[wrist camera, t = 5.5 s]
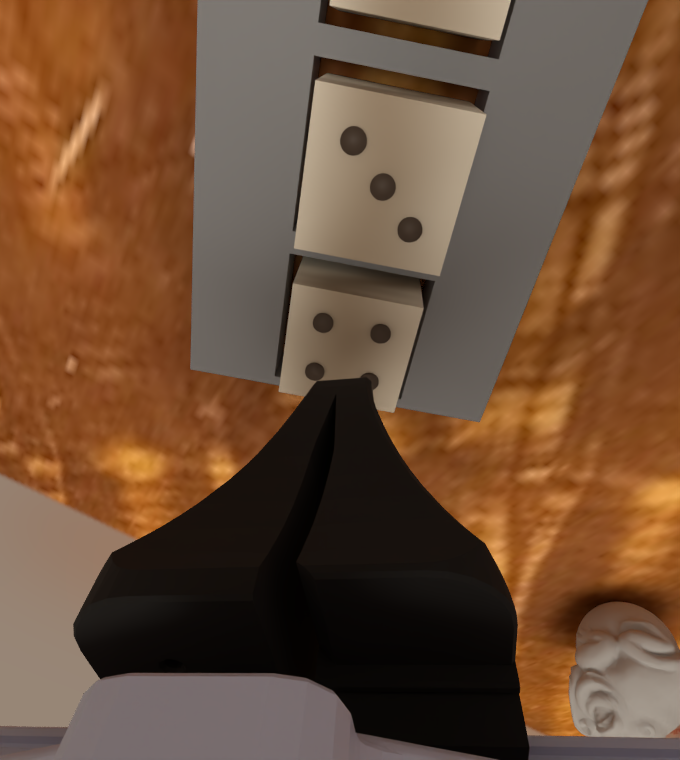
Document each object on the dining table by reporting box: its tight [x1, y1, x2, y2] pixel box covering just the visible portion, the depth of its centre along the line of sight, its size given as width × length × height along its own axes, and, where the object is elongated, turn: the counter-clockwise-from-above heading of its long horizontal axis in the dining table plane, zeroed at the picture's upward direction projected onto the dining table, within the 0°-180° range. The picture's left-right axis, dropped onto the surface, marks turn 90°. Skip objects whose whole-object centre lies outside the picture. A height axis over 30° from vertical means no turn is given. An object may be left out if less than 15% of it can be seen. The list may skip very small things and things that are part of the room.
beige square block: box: [279, 256, 424, 413], centre depth 20 cm, size 4×4×3 cm
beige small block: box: [294, 73, 486, 276], centre depth 16 cm, size 4×4×3 cm
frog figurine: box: [569, 602, 680, 738], centre depth 28 cm, size 6×7×7 cm
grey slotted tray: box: [191, 0, 648, 422], centre depth 16 cm, size 12×24×2 cm, turn 170°
